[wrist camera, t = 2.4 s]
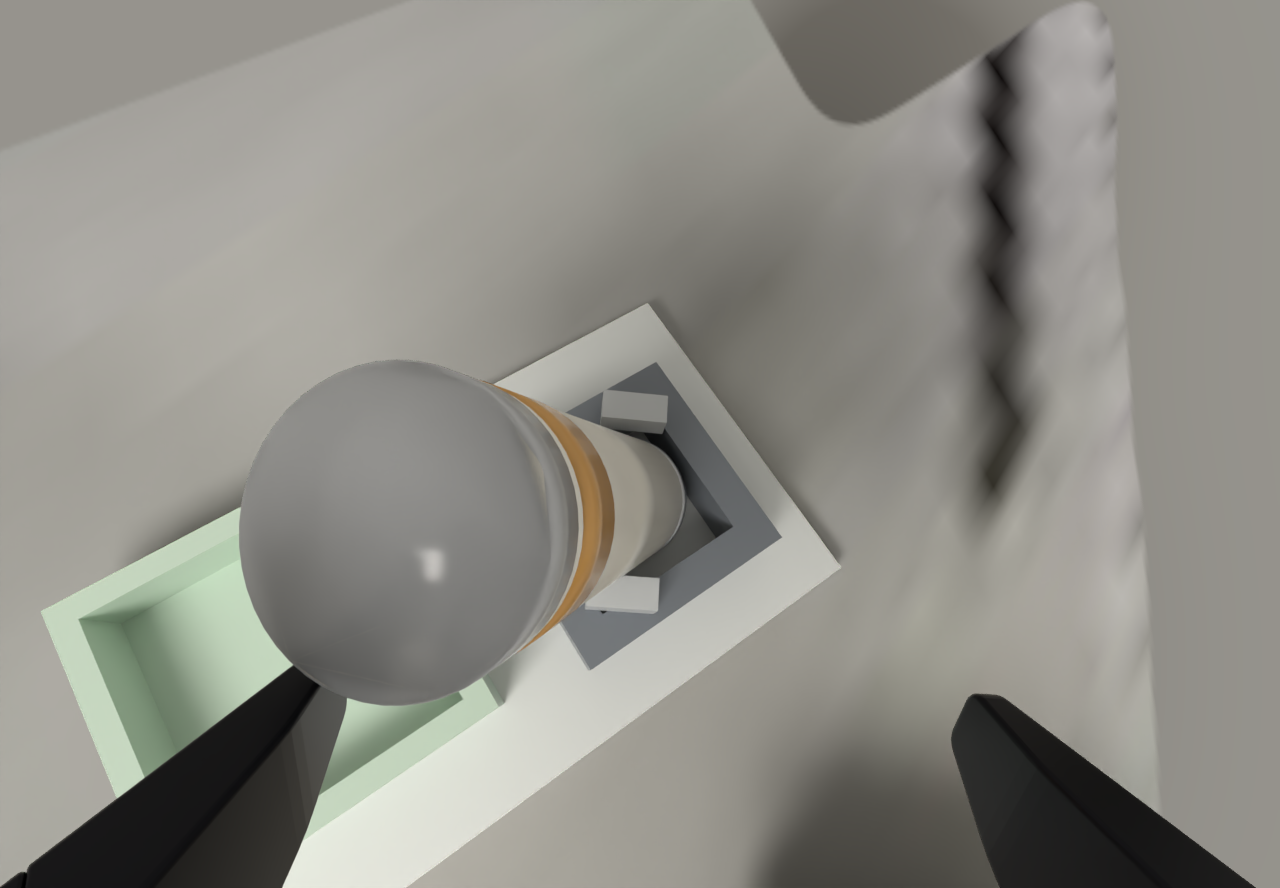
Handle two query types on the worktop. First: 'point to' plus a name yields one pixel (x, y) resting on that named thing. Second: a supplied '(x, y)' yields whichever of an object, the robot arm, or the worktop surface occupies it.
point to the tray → (218, 672)
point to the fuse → (438, 527)
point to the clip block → (708, 486)
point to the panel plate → (550, 666)
